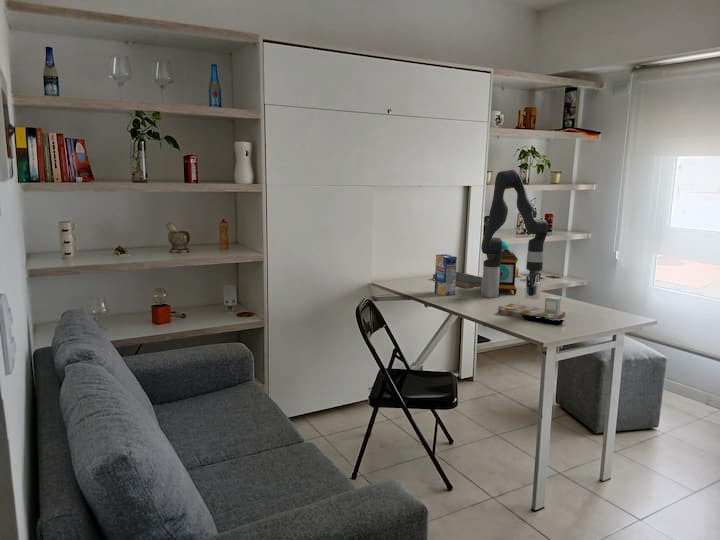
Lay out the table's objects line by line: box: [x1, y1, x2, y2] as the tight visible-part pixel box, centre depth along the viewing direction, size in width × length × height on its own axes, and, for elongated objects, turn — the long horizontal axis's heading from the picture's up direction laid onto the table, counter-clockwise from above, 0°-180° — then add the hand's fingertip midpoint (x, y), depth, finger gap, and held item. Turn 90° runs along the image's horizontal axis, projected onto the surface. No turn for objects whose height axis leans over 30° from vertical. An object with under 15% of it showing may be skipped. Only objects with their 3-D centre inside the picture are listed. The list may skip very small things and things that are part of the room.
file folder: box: [432, 271, 483, 289], centre depth 355 cm, size 33×4×24 cm
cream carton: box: [524, 281, 542, 301], centre depth 273 cm, size 6×4×8 cm
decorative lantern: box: [485, 240, 519, 295], centre depth 326 cm, size 20×20×30 cm
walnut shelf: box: [497, 302, 566, 320], centre depth 275 cm, size 28×16×4 cm, turn 53°
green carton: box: [544, 295, 562, 316], centre depth 269 cm, size 6×4×8 cm
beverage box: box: [434, 253, 458, 297], centre depth 318 cm, size 7×11×22 cm, turn 26°
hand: (532, 294), depth 274 cm, fingers closed on cream carton, 4 cm apart
